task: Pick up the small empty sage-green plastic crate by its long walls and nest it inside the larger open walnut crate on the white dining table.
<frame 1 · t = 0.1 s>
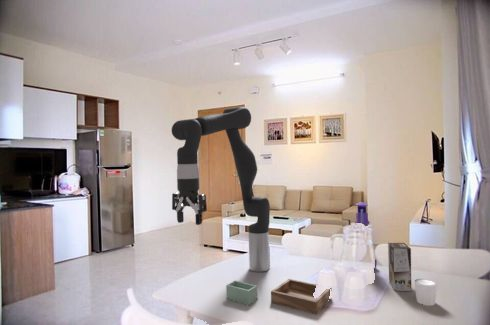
hand: (189, 223, 116), 29 cm above the table, tool pointing down, fingers open, 8 cm apart
walnut crate: (301, 300, 119), on the table
lantern: (363, 268, 152), on the table
sage crate: (242, 299, 121), on the table
coffee box: (399, 287, 129), on the table
white cup: (426, 302, 115), on the table
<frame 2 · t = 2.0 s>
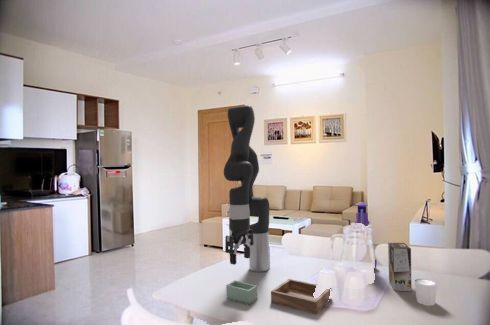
hand: (240, 260, 121), 14 cm above the table, tool pointing down, fingers open, 8 cm apart
nothing on the table moved.
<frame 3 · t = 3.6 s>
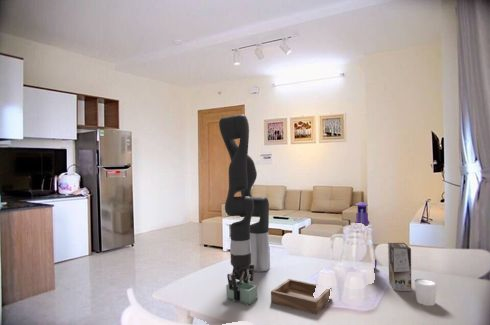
hand: (241, 297, 121), 1 cm above the table, tool pointing down, fingers closed on sage crate, 5 cm apart
sage crate: (242, 299, 121), on the table, touching gripper
everything else where it was.
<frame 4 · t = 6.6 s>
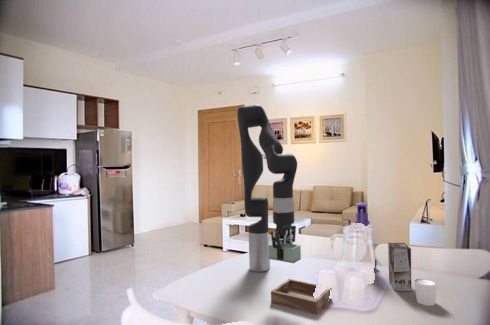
hand: (284, 257, 119), 16 cm above the table, tool pointing down, fingers closed on sage crate, 5 cm apart
sage crate: (284, 259, 119), point 15 cm above the table, touching gripper
everything else where it was.
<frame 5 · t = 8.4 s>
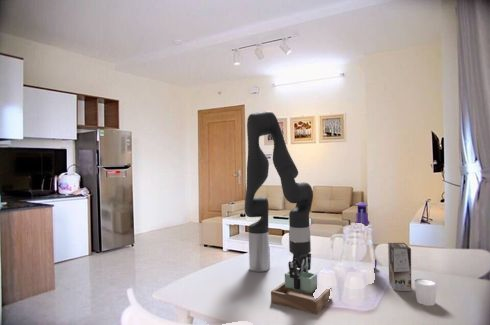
hand: (300, 285, 119), 5 cm above the table, tool pointing down, fingers closed on sage crate, 5 cm apart
sage crate: (301, 287, 119), point 5 cm above the table, touching gripper
everything else where it was.
when the fingers open (3 cm above the table, at t = 9.7 s): sage crate drops 2 cm, resting on walnut crate.
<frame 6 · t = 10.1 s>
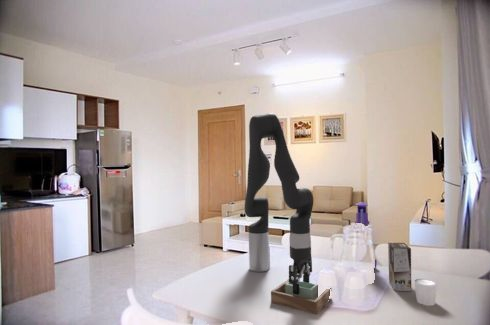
hand: (301, 289, 119), 4 cm above the table, tool pointing down, fingers open, 8 cm apart
sage crate: (301, 298, 119), point 1 cm above the table, touching walnut crate
everything else where it was.
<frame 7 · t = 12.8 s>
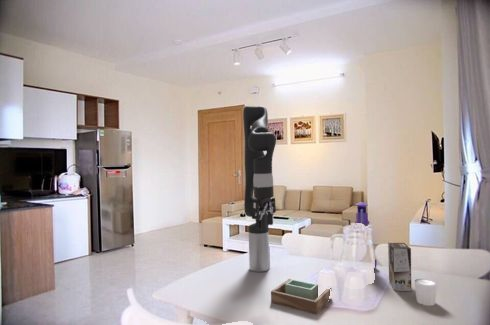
hand: (264, 227, 128), 25 cm above the table, tool pointing down, fingers open, 8 cm apart
nothing on the table moved.
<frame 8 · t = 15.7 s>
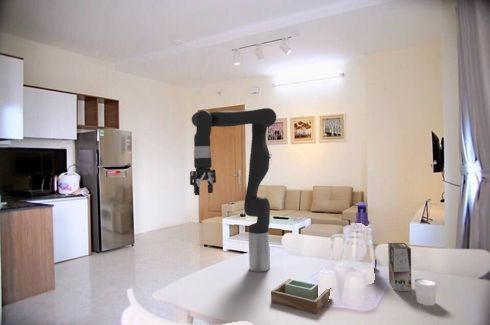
hand: (203, 194, 145), 36 cm above the table, tool pointing down, fingers open, 8 cm apart
nothing on the table moved.
at the end: sage crate inside the target area on the walnut crate (0.1 cm from its centre), point 0.8 cm above the walnut crate's base; sage crate tilted 0°; the gripper is holding nothing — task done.
